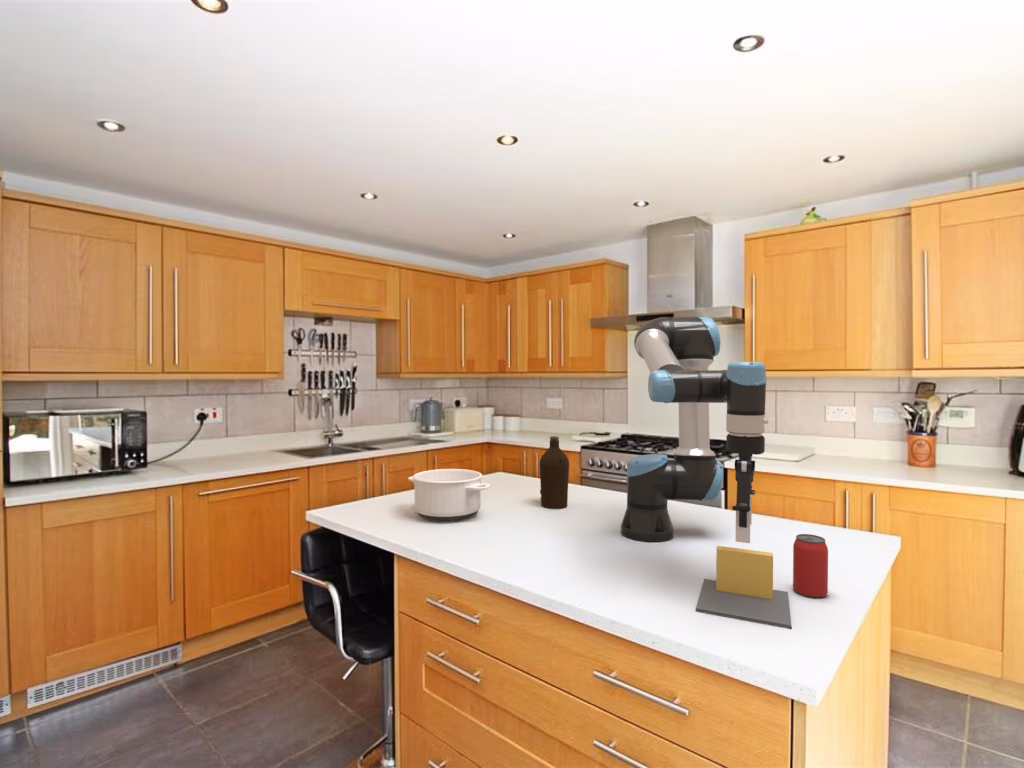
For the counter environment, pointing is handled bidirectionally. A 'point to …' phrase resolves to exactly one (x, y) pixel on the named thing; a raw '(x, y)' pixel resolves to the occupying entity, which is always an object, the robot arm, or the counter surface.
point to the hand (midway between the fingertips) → (743, 532)
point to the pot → (448, 494)
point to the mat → (745, 605)
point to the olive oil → (554, 476)
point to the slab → (744, 572)
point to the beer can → (810, 566)
